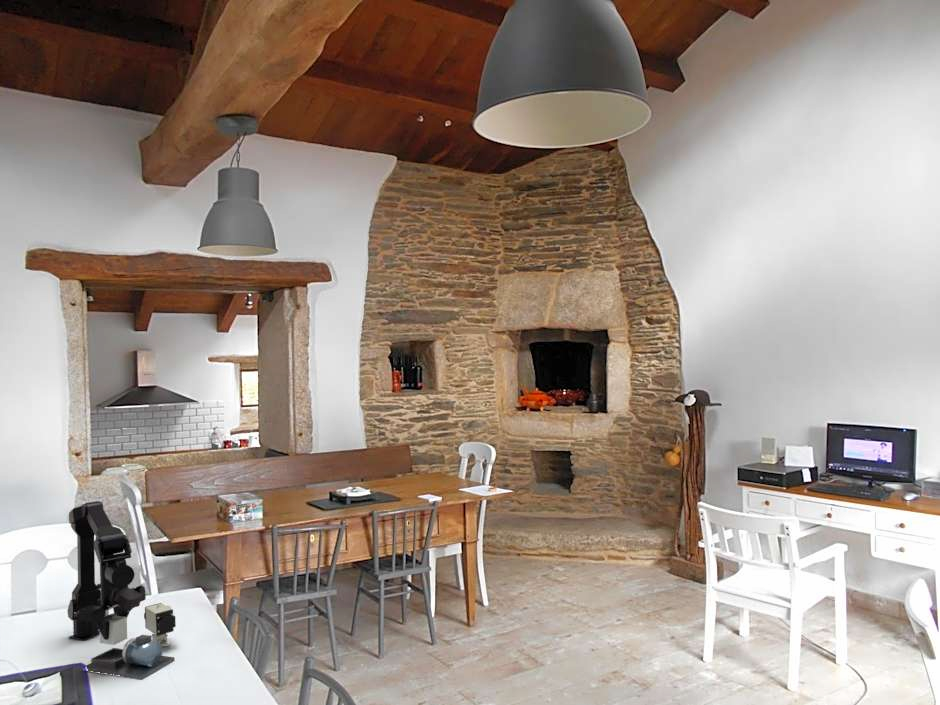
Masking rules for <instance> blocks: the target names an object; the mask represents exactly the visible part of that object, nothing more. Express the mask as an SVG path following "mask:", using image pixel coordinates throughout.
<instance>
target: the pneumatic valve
mask: <svg viewBox="0 0 940 705" xmlns="http://www.w3.org/2000/svg"><path fill="white" fill-rule="evenodd" d="M143 618H144V623H145V624H144V625H145V629H146V630H148V631H149V632H151V633H152V634H151V642H156V643H160V644H161V646H162V648H163V647H167V646H168V645H169V643H168V636H169V635H168V634H169V633H172V632H174V628H176V626H177V625H176V624H177V623H176V615H174V610H173V609H172V606H171V605H165V604H163V603H162V602H158V603H156V604H152V605H151V604H150V605H148V606H145V607H144V614H143Z"/></svg>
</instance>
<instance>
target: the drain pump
mask: <svg viewBox="0 0 940 705" xmlns="http://www.w3.org/2000/svg"><path fill="white" fill-rule="evenodd" d="M109 615H113V616H112V618H111V619H110V621H109V639H108V640H105V639H104V638H103V636H102V634H101V633H100V634H99V644H104V645H112V646H115V645H117V644H120V643H121V642H124V641H125V640H128V620H127V619H128V617H123V616H117V613H114V612H113V613H109Z"/></svg>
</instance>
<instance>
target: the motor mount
mask: <svg viewBox="0 0 940 705" xmlns="http://www.w3.org/2000/svg"><path fill="white" fill-rule="evenodd" d="M175 658H176V657H174V656H169V655H168V656H167V655H163V647H162V646H161V644H160V643H156V642H152V635H146V634H141V635H139V636H136V637H134V638H133V637H132V638H130V639H128V640H127V641H126V643H125V644H124V646H123V648H118V647H112V648H110V649H109V650H106V651H104V652H102V653H99V654H98V655H97V656H94V657H92V658H91V659H90V663H88V664H85V666H86V667H87V669H88V671H93V672H100V673H107V674H112V675H111V676H113V674H114V675H120V676H124V677H123V678H126V677H129V679H133V678H135V679H136V680H141V681H142V680H144V679H146V678H147V677H150V676H151V675H153V674H154V673H156V672H158V671H160V670H161V669H163V668H165V667H167V666H169V665H170V664H171V663H174V662H175ZM173 661H174V662H173ZM135 679H134V680H135Z"/></svg>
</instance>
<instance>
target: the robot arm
mask: <svg viewBox="0 0 940 705" xmlns="http://www.w3.org/2000/svg"><path fill="white" fill-rule="evenodd" d="M68 523H69V525H70V527H71V528H70V529H72V530H73V531H74V533H75V534H76V536H77V540H76V542H77V543H76V544H77V550H76V551H77V584H76V585H75V587H74V588H73V590H72V592H71V599H70V601H69V604H68V606H67V617H68V618H69V620H70V621H72V624H73V628H72V629H73V634H72V635H70V636H69V639H73V640H80V641H87V640H89V639H91V638H94V637H95V636H97V635H100V633H101V634H102V636H103V638H104V639H105V640H108V639H109V621H110V619H111V618H112V616H113V615H110V613H109V612H110V610H112V611H113V613H117V616H123V617H127V618H128V616H129V614H130V612H131V611H132V610H133V609H135V608H137V607H140V605H141V602H144V601H145V600H146V596H147V595H146V587H145V586H144V585H138V586H136V587H131V588H130V587H129V585H130V584H131V583H133V580H134V579H135V571H134V569H133V568H132V567H131V566H130V565H128V564H127V560H126V559H131V558H132V548H131V544H130V541H129V538H127V537H128V536H127V535H126V534H125V533H124V532H123V531H122V529H121V528H119V527H117V526H114V525H113V524H112V522H111V520H110V519H109V516H108V515H107V513H106V511H105V510H104V503H103V501H100V500H96V501H90V502H89V501H88V502H85V503H83V504H81V505H80V506H77V507H73V508H72V509H71V510H70V511H69V512H68ZM95 555H96V557H97V561H98V563H99V580H100V582H99V583H98V584H96V578H95V577H96V576H95V575H96V572H95V571H96V570H95V569H96V568H95V566H96V565H95V562H96V561H95V560H96V559H95Z"/></svg>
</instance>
